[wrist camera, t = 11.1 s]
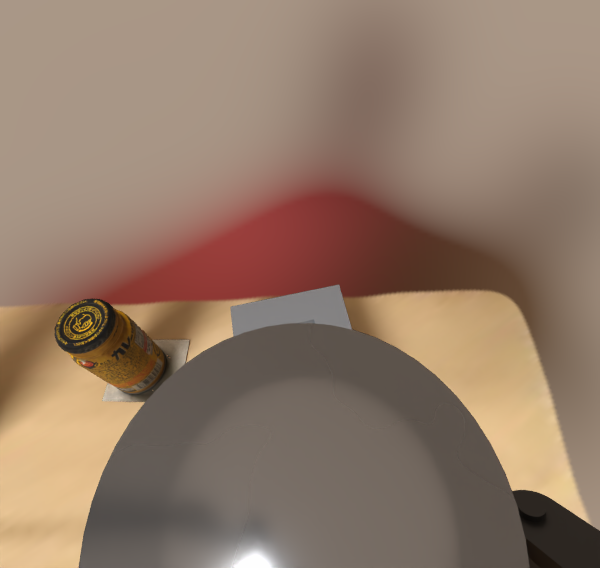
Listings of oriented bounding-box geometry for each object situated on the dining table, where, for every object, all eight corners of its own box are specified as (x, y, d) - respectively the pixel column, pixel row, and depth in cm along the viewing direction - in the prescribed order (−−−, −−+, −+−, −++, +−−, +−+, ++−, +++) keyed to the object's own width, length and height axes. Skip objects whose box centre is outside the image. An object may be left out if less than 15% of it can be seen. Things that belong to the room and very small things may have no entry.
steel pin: (278, 606, 17) (39, 958, 3) (261, 470, 20) (99, 361, 6) (399, 578, 17) (647, 802, 4) (365, 447, 20) (426, 293, 6)
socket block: (252, 430, 39) (242, 419, 35) (240, 326, 45) (230, 306, 41) (366, 406, 39) (370, 392, 35) (338, 306, 46) (339, 284, 42)
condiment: (121, 340, 46) (60, 289, 36) (190, 340, 45) (147, 288, 35) (103, 401, 42) (28, 364, 32) (177, 403, 41) (125, 365, 31)
